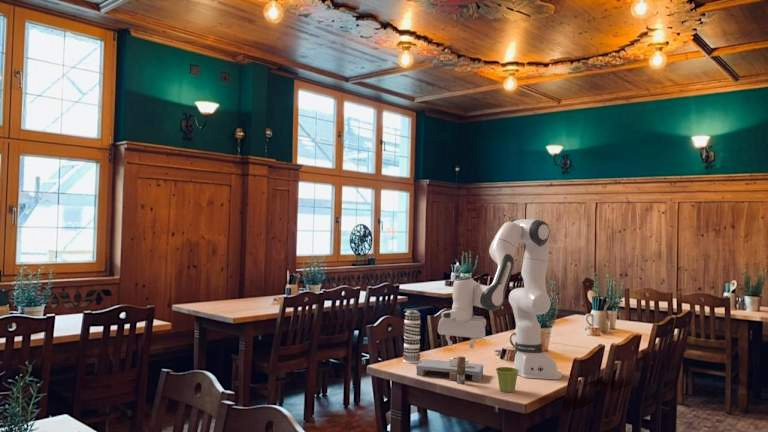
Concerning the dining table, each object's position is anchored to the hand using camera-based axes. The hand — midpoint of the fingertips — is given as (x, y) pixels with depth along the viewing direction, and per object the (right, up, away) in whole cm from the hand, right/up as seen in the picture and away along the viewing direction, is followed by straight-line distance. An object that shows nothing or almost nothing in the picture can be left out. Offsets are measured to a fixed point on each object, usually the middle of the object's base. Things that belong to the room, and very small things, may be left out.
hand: (460, 346), depth 246 cm
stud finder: (+1, -11, +12) cm, 16 cm away
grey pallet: (-3, -16, +13) cm, 21 cm away
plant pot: (+18, -16, -10) cm, 26 cm away
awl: (0, -16, 0) cm, 16 cm away
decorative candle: (-19, -16, +38) cm, 45 cm away
